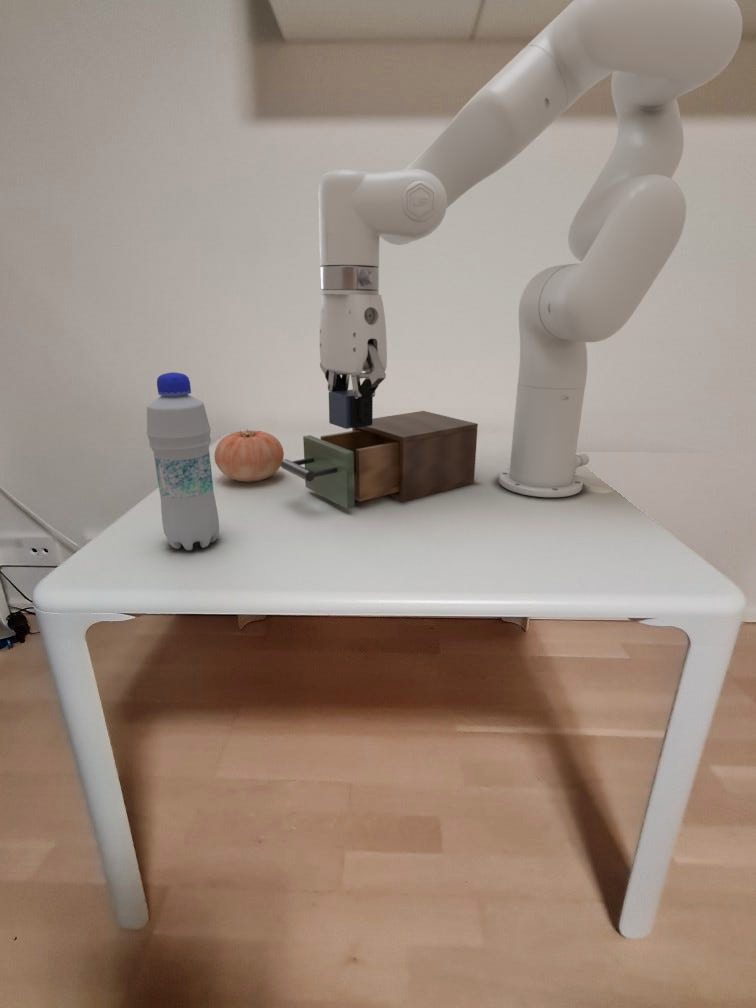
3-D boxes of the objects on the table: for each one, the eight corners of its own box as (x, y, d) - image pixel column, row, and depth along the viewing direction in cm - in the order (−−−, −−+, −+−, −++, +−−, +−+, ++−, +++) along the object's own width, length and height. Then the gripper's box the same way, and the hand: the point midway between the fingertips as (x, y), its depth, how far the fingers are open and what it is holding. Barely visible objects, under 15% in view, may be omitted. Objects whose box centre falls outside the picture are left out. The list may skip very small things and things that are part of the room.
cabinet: (402, 502, 78) (403, 437, 75) (353, 480, 87) (352, 421, 84) (473, 483, 86) (477, 423, 83) (421, 464, 96) (423, 410, 92)
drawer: (315, 517, 70) (313, 459, 68) (275, 493, 79) (272, 441, 76) (423, 489, 81) (424, 438, 78) (377, 471, 89) (377, 424, 86)
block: (354, 419, 79) (354, 389, 78) (372, 425, 76) (372, 393, 74) (329, 423, 77) (328, 391, 75) (346, 429, 74) (345, 396, 72)
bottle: (201, 526, 70) (182, 367, 63) (234, 540, 66) (216, 371, 59) (152, 544, 65) (125, 373, 58) (184, 560, 61) (159, 378, 54)
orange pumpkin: (266, 492, 82) (262, 440, 79) (203, 485, 85) (197, 435, 82) (295, 471, 92) (293, 425, 89) (238, 466, 95) (234, 421, 92)
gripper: (414, 282, 66) (409, 431, 72) (338, 284, 78) (340, 410, 85) (363, 281, 62) (363, 438, 68) (292, 283, 74) (298, 416, 81)
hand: (351, 421), depth 76 cm, fingers closed on block, 4 cm apart
